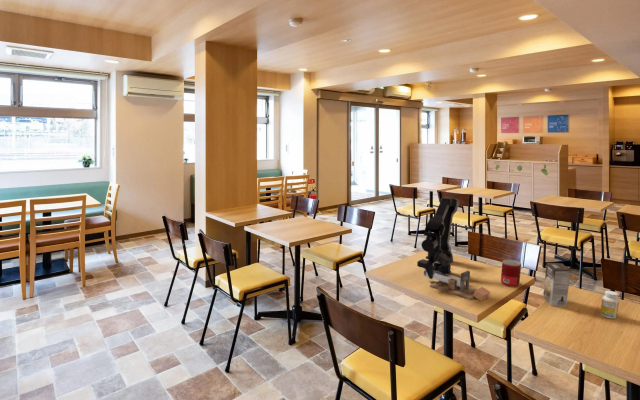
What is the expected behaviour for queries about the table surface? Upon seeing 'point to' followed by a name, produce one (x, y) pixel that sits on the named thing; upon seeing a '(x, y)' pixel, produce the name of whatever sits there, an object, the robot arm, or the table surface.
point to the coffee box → (556, 284)
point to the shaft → (444, 277)
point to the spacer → (481, 293)
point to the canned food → (510, 273)
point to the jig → (461, 291)
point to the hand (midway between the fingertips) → (432, 277)
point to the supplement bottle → (609, 304)
